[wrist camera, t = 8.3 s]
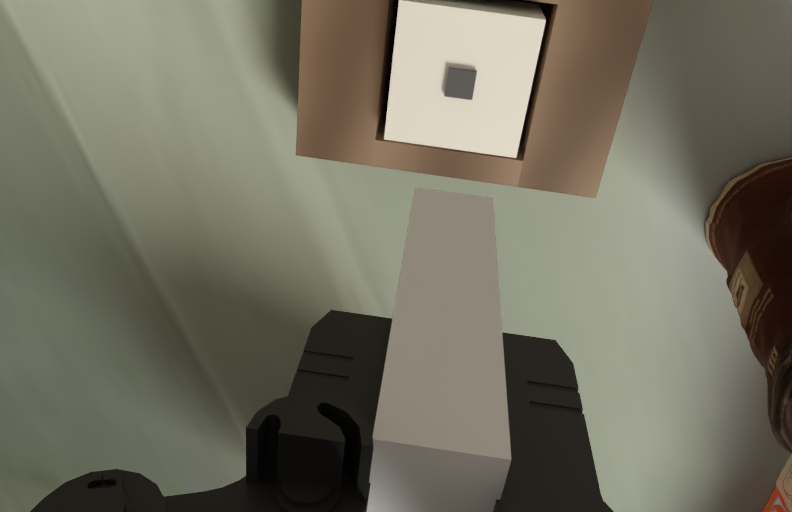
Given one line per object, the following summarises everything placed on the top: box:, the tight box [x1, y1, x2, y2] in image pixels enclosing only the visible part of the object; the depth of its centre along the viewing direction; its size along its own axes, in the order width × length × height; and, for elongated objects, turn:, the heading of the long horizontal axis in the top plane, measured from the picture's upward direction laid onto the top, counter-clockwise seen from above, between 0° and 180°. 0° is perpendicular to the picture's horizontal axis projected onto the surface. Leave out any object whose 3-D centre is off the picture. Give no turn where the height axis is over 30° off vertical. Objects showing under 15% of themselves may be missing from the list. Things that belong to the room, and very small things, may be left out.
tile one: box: [384, 0, 546, 158], centre depth 25 cm, size 5×5×3 cm
